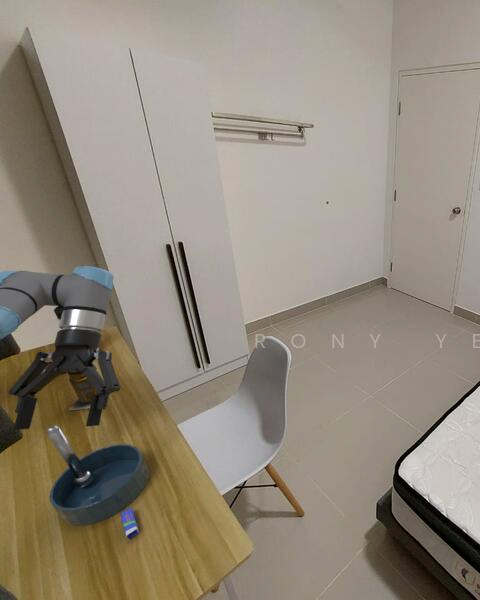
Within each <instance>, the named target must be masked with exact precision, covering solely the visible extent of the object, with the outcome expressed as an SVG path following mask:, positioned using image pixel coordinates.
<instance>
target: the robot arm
mask: <svg viewBox="0 0 480 600" xmlns="http://www.w3.org/2000/svg"><path fill="white" fill-rule="evenodd" d="M114 279H115V278H114V275H113V274H112V273H111V272H110V271H109V270H106V269H104V268H101V267H96V266H91V265H84V266H80V265H79V266H76V267H75V268H74V269H73V271H72V272H71V274H61V273H60V274H59V273H49V272H38V271H28V270H1V271H0V341H1V340H3V339H4V338H6V337H7V336H8V335H10V334H12V333H14V332H16V330H17V329H19V327H20V326H21V325H22V324H24V322H26V321H27V320H28V319H29V318H31V317H32V316H34V315H35V314H36V313H37V312H39V311H40V310H41V309H42V308H44V307H45V306H49V307H58V306H64V309H63V313H62V317H61V320H60V322H59V323H58V328H59V329H60V330H58V331H57V332H56V337H55V340H54V344H53V345H54V348H55V350H54V351H53V352H54V353H53V354H52V353H50V352H46V351H38V352H37V353H36V355H35V358H34V360H33V363H32V362H31V364H30V365H29V366H28V367H27V369H26V370H25V371H24V372H23V374H22V375H21V376H20V377H19V379H18V380H16V382H15V383H14V385H13V386H12V387H11V388H10V389H9V391H8V395H10V396H14V397H15V396H16V397H17V398H18V399H17V402H16V406H15V410H14V413H15V414H17V415H16V419H15V422H14V425H13V429H12V431H21V430H30V427H31V425H32V421H33V417H34V413H35V409H36V406H37V402H38V397H37V396H36V394H38V393H39V392H40V391H42V390H43V389H44V388H45V387H46V386H47V385H48V384H50V383H51V382H52V381H53V380H54V379H55V378H57V377H58V376H59V375H62V374H63V373H67V372H72V371H77V372H82V373H83V374H84V375H85V377H86V378H87V379H88V381H89V382H90V384H91V385H92V386H93V388H94V389H95V390H96V392H97V393H95V394H99V395H93V396H92V400H91V405H90V408H88V409H89V410H88V415H87V419H86V422H85V427H98V426H100V423H101V418H102V413H103V410H106V408H107V407H108V401H109V398H110V397H109V396H110V395H111V394H112V393H115V392H119V391H120V390H121V386H120V385H121V384H120V382H119V379H118V377H117V374H116V371H115V368H114V364H113V361H112V357H113V353H112V351H109V350H103V349H102V350H99V352H97V348H99V349H100V344H101V341H102V334H101V332H102V331H103V330H104V326H105V323H106V322H105V321H106V317H107V312H108V308H109V304H110V300H111V296H112V293H113V285H114ZM51 361H53V362H52V363H51V364H50V365H49V366H48V364H49V362H51ZM95 361H97V363H98V366H99V369H100V372H101V374H100V373H99V372H98V371H97V370H98V369H97V367H96V365H95V364H94V363H93V362H95ZM47 366H48V367H47ZM44 370H45V371H44ZM43 371H44V372H43ZM42 372H43V373H42ZM41 373H42V374H41Z"/></svg>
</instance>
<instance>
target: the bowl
mask: <svg viewBox="0 0 480 600" xmlns="http://www.w3.org/2000/svg"><path fill="white" fill-rule="evenodd" d="M79 460H80V461H81V463H82V465H83V466H84V468H85V469H86V470H90V471H92V472H93V473H94V479H93V481H92V482H91V483H90V484H89V485H87V486H85V487H76V486H75V485H74V484H73V479H74V477H75V476H74V475H73V473H72V471H71V470H70V468H69V467H67V468H66V469H65V470H64V471H63V472H61V474H60V475H59V476H58V477H57V479H55V481H54V482H53V485H52V487H51V489H50V491H49V502H50V503H51V506H52V507H53V508H54V510H55V511H56V512H57V513H58V515H59V517H61V519H62V520H63V521H65V523H66V524H69V525H71V526H76V527H84V526H90V525H94V524H98V523H100V522H103V521H105V520H108V519H110V518H111V517H113V516H115V515H117V514H118V513H120V512H121V511H122V510H125V509H126V508H127V507H128V506H129V505H130V504H132V502H134V501H135V500H136V499H137V498H138V496H139V495H140V494H141V493H142V491H143V490H144V488H146V487H145V486H146V485H147V482H148V480H149V475H150V473H149V472H150V471H149V468H148V464H147V463H146V461H145V458H144V456H143V454H142V452H141V451H140V450H139V448H138V447H137V446H134V445H132V444H128V443H127V444H126V443H125V444H124V443H119V444H112V445H107V446H104V447H101V448H99V449H96V450H94V451H92V452H90V453H88V454H85V455H84V456H82V457H81V458H79Z"/></svg>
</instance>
